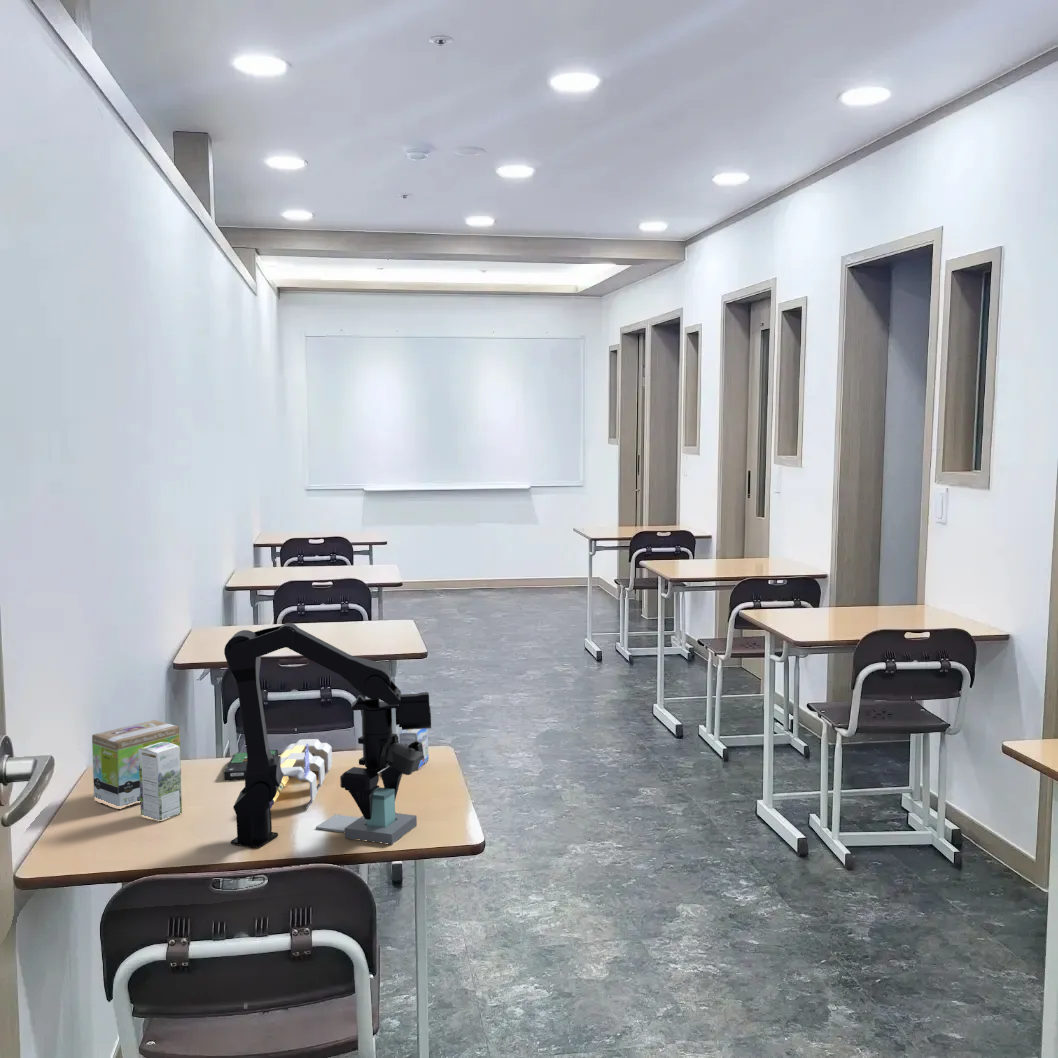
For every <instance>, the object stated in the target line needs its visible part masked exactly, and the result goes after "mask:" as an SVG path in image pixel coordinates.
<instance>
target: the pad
mask: <svg viewBox="0 0 1058 1058" xmlns="http://www.w3.org/2000/svg"><path fill="white" fill-rule="evenodd" d="M360 817H361V816H360ZM360 817H358V816H351V815H345V814H344V815H342V814H333V815H332V816H330V817H329V818H327V819H325V820H324V821H323V822H321V823H320V824H318V825H316V826H315V830H320V829H323V831H330V832H336V833H343V832H345V828H346V827H347V826H349V825H350V824H351V823H353V822H354V821H356V820H357V819H359V818H360Z"/></svg>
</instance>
